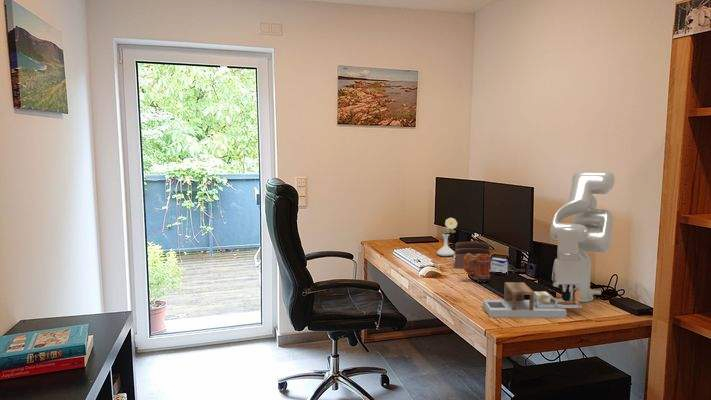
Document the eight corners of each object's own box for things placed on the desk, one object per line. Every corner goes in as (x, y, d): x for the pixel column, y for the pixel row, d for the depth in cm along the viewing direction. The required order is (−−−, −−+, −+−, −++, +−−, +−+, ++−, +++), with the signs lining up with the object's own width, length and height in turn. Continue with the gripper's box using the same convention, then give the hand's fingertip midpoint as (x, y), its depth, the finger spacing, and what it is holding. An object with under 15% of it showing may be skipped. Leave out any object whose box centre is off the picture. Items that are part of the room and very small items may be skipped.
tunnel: (523, 299, 192) (523, 282, 191) (533, 310, 179) (533, 291, 178) (504, 299, 192) (504, 282, 191) (512, 310, 179) (513, 291, 179)
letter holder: (455, 264, 268) (455, 241, 267) (489, 265, 264) (489, 241, 262) (454, 268, 259) (455, 244, 257) (490, 269, 254) (491, 245, 253)
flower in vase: (435, 257, 287) (435, 218, 284) (437, 253, 297) (437, 216, 295) (456, 258, 283) (456, 219, 280) (457, 254, 294) (458, 216, 291)
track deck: (554, 306, 191) (554, 300, 191) (566, 318, 178) (566, 310, 178) (482, 306, 193) (483, 299, 193) (489, 317, 180) (490, 310, 180)
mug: (488, 279, 234) (488, 251, 233) (493, 283, 226) (494, 254, 225) (460, 280, 234) (460, 251, 232) (464, 284, 226) (465, 255, 224)
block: (545, 303, 187) (545, 291, 187) (549, 307, 182) (550, 295, 182) (533, 303, 188) (533, 291, 187) (537, 307, 183) (537, 295, 182)
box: (490, 274, 245) (490, 258, 244) (493, 272, 248) (493, 257, 247) (504, 276, 240) (504, 260, 239) (507, 274, 243) (508, 259, 242)
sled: (574, 301, 188) (575, 287, 187) (583, 308, 180) (583, 293, 179) (530, 301, 189) (530, 286, 188) (536, 307, 181) (536, 292, 181)
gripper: (582, 254, 185) (580, 297, 187) (545, 254, 186) (544, 297, 188) (590, 258, 178) (588, 303, 180) (551, 258, 179) (550, 303, 181)
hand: (565, 300), depth 184 cm, fingers closed
